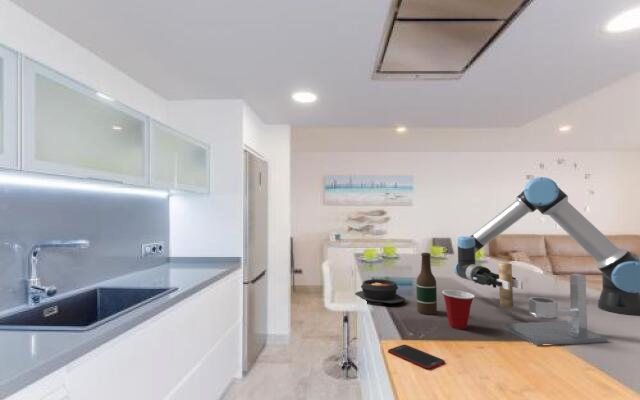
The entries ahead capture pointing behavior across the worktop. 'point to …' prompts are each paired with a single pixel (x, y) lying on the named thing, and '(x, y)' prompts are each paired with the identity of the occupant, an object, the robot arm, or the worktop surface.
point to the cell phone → (416, 357)
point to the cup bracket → (558, 329)
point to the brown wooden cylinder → (505, 294)
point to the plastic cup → (458, 307)
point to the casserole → (380, 291)
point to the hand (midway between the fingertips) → (515, 285)
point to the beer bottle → (426, 288)
